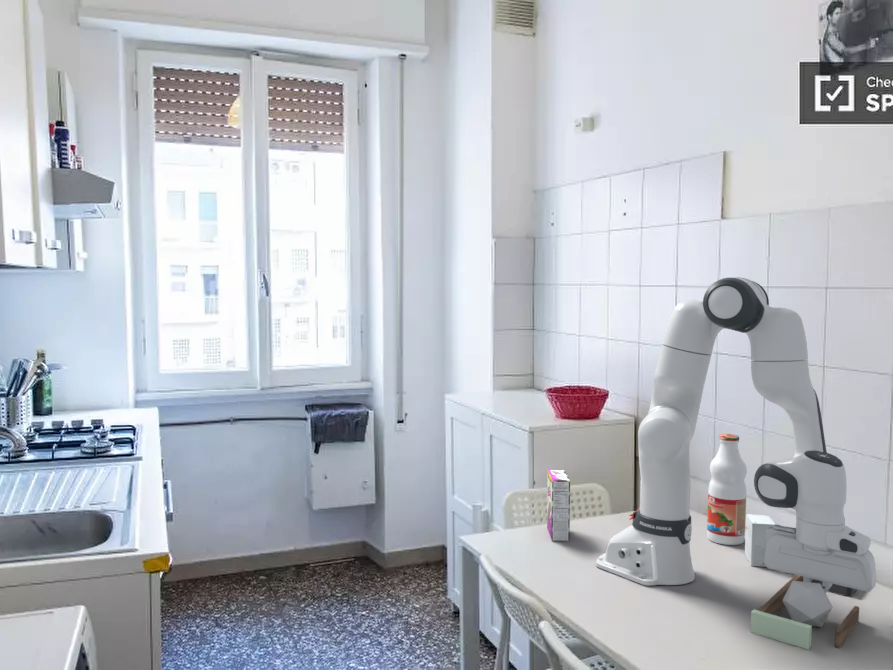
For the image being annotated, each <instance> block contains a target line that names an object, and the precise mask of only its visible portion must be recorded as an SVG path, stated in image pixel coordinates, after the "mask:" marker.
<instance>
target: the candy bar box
mask: <svg viewBox="0 0 893 670" xmlns="http://www.w3.org/2000/svg"><path fill="white" fill-rule="evenodd" d="M546 475H547V481H546V482H547V483H546V486H547V488H546V489H547V491H546V494H547V496H546V497H547V498H546V499H547V500H546V501H547V502H546V506H547V507H546V512H547V513H546V529H547V531H548V533H549V537H550V539H551V541H552V542H570V527H571V526H570V524H571V522H570V520H571V519H570V518H571V517H570V513H571V512H570V511H571V480H570V478H569V476H568V474H567V472H566V471H565V470H564V469H547V474H546Z"/></svg>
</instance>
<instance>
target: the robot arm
mask: <svg viewBox="0 0 893 670" xmlns="http://www.w3.org/2000/svg"><path fill="white" fill-rule="evenodd" d="M702 299H703V300H695V299H689V300H683V301H681V302H679V303H677V304H676V305H675V306H674V308H673V310H672V312H671V314H670V317H669V320H668V322H667V325H666V327H665V330H664V333H663V337H662V341H661V344H660V349H659V353H658V358H657V362H656V366H655V371H654V374H653V384H652V390H651V391H652V392H651V399H650V405H649V409H648V412H647V414H646V416H645V417H644V418H643V419H642V421H641V422H640V423H639V426H638V430H637V438H638V439H637V442H638V443H637V445H638V446H637V448H638V461H639V462H638V463H639V471H640V489H639V491H640V492H639V493H640V494H639V498H640V499H639V507H638V508H637V510H634V511H633V513H631V514H629V521H631V520H632V523H631V525H628V527H627V526H626V528H624V529H623V530H621V531H619V532H618V533H615V534H614V535H613V536H612V537H611V538H610V539H609V541H608V544H607V546H606V551H605V552H604V553H603V554H600V555H599V556H598V557H597V559H596V561H595V562H596V563H595V566H596V567H597V568H598V569H601V570H604V571H606V572H610V573H612V574H614V575H617V576H620V577H623V578H625V579H627V580H629V581H633V582H636V583H638V584H640V585H643V586H647V587H649V586H658V585H661V586H663V585H664V586H677V585H678V586H679V585H685V584H688V583H691V582H693V581H694V580H695V579H696V575H695V570H694V567H693V563H692V561H693V560H692V554H691V548H690V547H691V543H690V541H691V540H692V539H691V538H692V530H693V529H692V516H691V514H690V513H691V512H690V505H691V483H692V481H691V473H690V472H691V471H690V467H691V466H690V444H691V441H692V439H693V437H694V434H695V430H696V427H697V422H698V417H699V413H700V407H701V402H702V398H703V393H704V389H705V388H704V387H705V383H706V379H707V374H708V372H709V371H708V370H709V367H710V362H711V358H712V354H713V350H714V345H715V343H716V339H717V336H718V334H719V333H720V332H721V331H722V330H723V329H727V330H732V331H734V332H739V333H743V334H745V335H747V337H748V340H749V345H750V369H751V370H750V371H751V373H750V374H751V379H752V383H753V386H754V387H753V388H754V389H755V390H756V391H757V393H758V394H759V395H760V396H762V397H763V398H764V400H765V399H766V400H767V401H768V402H771V403H773V404H775V405H777V406H779V407H781V408H782V409H783V410H784V411H785V412H786V413H787V414H788V416H789V417H788V418H789V420H790V424H791V425H790V426H791V432H792V438H793V439H792V440H793V446H794V455H793V457H790V458H787V459H781V460H779V459H778V460H773V461H769V462H766V463H763V464H761V465H760V466H758V468H757V470H756V471H755V474H754V476H753V477H754V478H753V486H754V491H755V493H756V495H757V497H758V499H760V501H761V502H763V503H764V504H765V505H767V506H769V507H773V508H779V509H780V508H781V509H793V510H795V513H796V517H795V527H791V526H783V525H780V524H777V523H775V524H774V525H773V526H769V527H768V528H767V529H766V537H765V538H766V541H767V547H766V552H765V559H764V563H765V565H766V566H767V567H766V568H768V569H770V570H773V571H778V572H782V573H785V574H791V575H794V576H795V575H798V576H802V577H803V582H810V583H811V582H812V580H813V579H815V580H819V581H822V586H823V587H825V586H826V587H825V588H824V591H825V593H826V594H827V592H829V591H828V590H829V589H830V587H831V586H832V584H836V585H840V586H844V587H849V588H853V589H857V590H858V591H862V592H866V593H868V592H871V591H872V590H873V589H874V588H875V587H876V584H877V582H876V581H877V571H876V569H877V568H876V561H875V557H874V555H873V553H872V552H871V551H870V546H871V541H872V540H871V538H870V537H869V536H868V535H865V534H863V533H862V532H859V531H857V530H855V529H853V528H851V527H849V526H847V525H846V517H845V514H844V509H845V504H846V502H847V475H846V474H847V472H846V468H845V466H844V465H845V464H844V463H843V461H842V460H841V459H840V458H839V457H838V456H837V455H834V454H832V453H829V452H827V448H826V447H827V446H826V440H825V433H824V432H825V431H824V426H823V419H822V411H821V405H820V401H819V398H818V395H817V393H816V390H815V388H814V387H813V384H812V381H811V376H810V370H809V357H808V356H809V355H808V354H809V353H808V343H807V336H806V331H805V327H804V322H803V319H802V317H801V316H800V315H799V313H797V311H794V310H792V309H790V308H786V307H772V306H770V299H769V297H768V293H767V291H766V290H765V288H764V287H763V286H762V285H760V284H759V283H758V282H756V281H754V280H751V279H748V278H746V277H739V276H737V277H723V278H721V279H718V280H716V281H715V282H713V283H712V284H710V286H708V287H707V289H706V290H705V293H704V296H703V298H702ZM772 528H773V529H772ZM857 590H856V591H857Z"/></svg>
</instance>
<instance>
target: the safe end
mask: <svg viewBox="0 0 893 670" xmlns="http://www.w3.org/2000/svg"><path fill="white" fill-rule="evenodd" d="M758 610H759V609H753V610H751V611H750V631H749V632H750V633H753V634H756V635H759V636H763V637H765V638H769V639H773V640H775V641H780V642H781V643H782V642H783V643H785V644H789V645H793V646H795V647H799V648H802V649H806V650H810V649H811V647H812V633H813V632H812V630H813V626H811V625H808V624H804V623H801V622H797V621H793V620H792V619H791V618H786V617H783V616H778V615H776V614H775V615H772V614H769V613H765V612H762V611H758Z"/></svg>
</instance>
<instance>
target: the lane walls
mask: <svg viewBox="0 0 893 670" xmlns="http://www.w3.org/2000/svg"><path fill="white" fill-rule="evenodd" d="M792 581H801V582H803V577H802V576H798V575H794V576H792V578H790V579H789V581H787V583H785V584H784V585H783V586H782V587H781V588H780V589H779V590H778V591H776V593H775V594H774V595H772V597H770V598H769V599H768V600H767V601H766V602H765V603H764V604H763V605H762V606H761V607H760V608H759V609H757V610H758V611H762V612H765V613H769V614H772V615H776V614H777V613H778V612H779V611H780V610H781V609H782V608H783V607H785V605H784V603H783V601H782V600H783V598H784V596H785V594H786V593H787V591H788V589H789V587H790V585H791V583H792ZM859 620H860V606H858V605H854V606H853V607H852V609H851V610H850V611H849V613H848V614H847V615H846V616H845V618H844V619H843V620H842V622H841V623H840V624H839V625H838V627H837V628H836V629H835V633H834V647H835V648H838V649H840V648H841V647H842V645H843V644H844V642H845V641H846V639H848V637H849V636H850V634H851V633H852V631H853V630H854V628H855V627H856V626H857V625H858V623H859V622H860V621H859Z"/></svg>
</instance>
